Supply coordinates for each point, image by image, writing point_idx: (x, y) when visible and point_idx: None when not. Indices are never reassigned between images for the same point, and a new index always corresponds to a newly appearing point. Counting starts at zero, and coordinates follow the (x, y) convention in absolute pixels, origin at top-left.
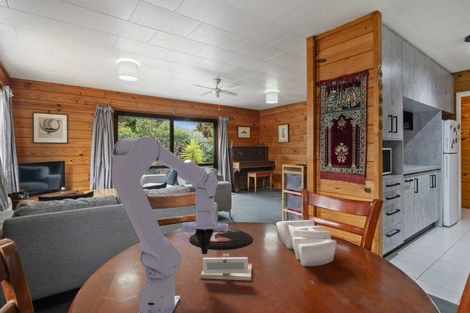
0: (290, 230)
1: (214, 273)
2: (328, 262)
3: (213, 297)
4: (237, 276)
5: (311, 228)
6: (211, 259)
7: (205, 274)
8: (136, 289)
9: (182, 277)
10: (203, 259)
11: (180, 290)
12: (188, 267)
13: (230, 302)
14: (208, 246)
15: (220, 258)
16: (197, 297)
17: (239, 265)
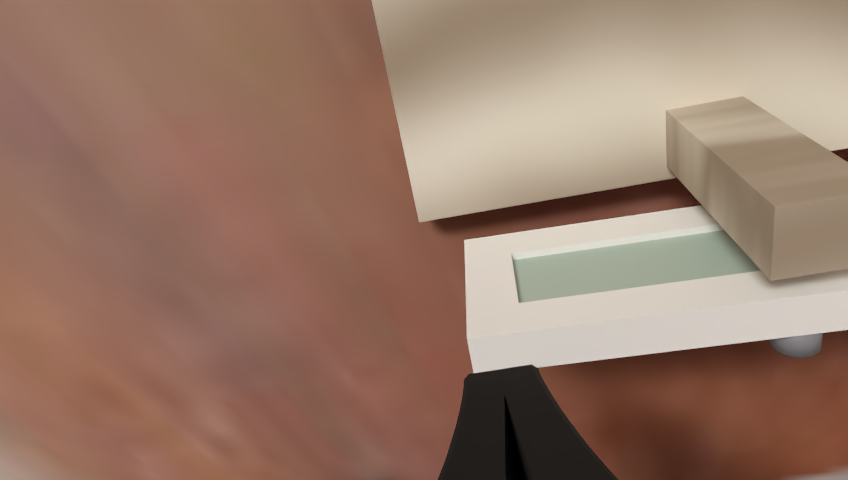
0: None
1: (565, 162)
2: None
3: (631, 420)
4: (841, 146)
5: None
6: (600, 357)
7: (471, 211)
8: (11, 471)
9: (229, 236)
10: (483, 369)
11: (342, 408)
12: (142, 4)
13: (767, 438)
14: (563, 416)
15: (735, 331)
16: None
17: None
